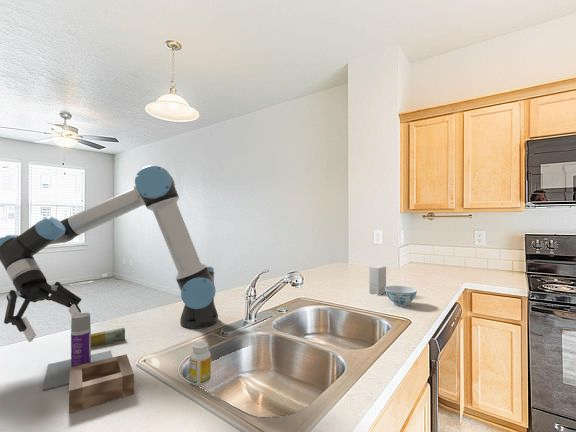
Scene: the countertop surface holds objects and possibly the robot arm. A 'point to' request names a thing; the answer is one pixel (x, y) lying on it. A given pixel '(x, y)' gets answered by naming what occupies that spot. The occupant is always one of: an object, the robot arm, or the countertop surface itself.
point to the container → (80, 339)
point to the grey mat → (66, 371)
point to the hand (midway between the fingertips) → (58, 330)
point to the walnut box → (100, 382)
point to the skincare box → (377, 279)
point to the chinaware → (400, 294)
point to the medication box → (107, 337)
